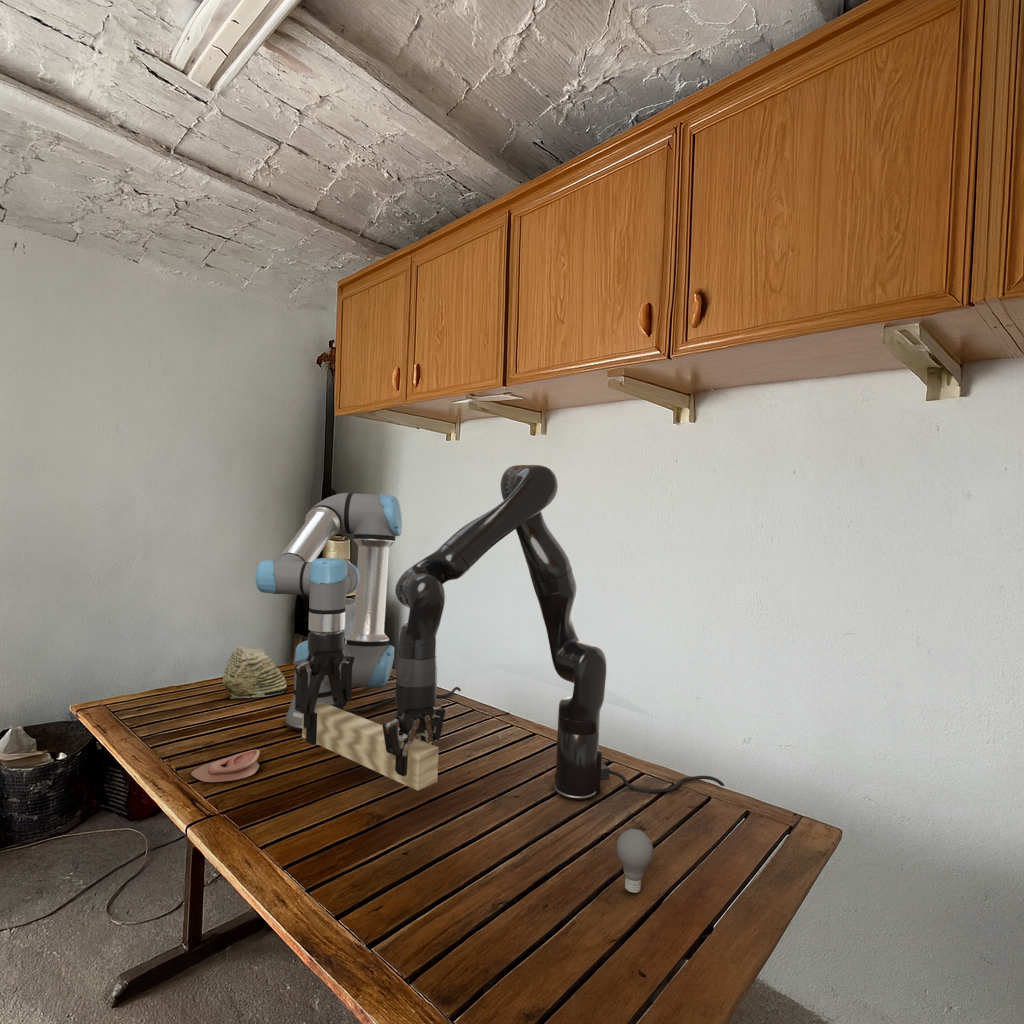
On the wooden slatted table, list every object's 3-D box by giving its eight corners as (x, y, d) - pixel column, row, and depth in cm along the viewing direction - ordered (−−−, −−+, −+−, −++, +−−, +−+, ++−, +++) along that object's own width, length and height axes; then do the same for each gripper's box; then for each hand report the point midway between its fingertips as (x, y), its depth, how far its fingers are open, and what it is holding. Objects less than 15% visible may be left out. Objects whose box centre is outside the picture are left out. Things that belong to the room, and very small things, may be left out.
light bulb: (610, 879, 108) (613, 822, 108) (644, 879, 109) (647, 822, 109) (619, 902, 102) (622, 840, 102) (655, 901, 103) (658, 840, 103)
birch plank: (301, 737, 136) (303, 707, 136) (321, 731, 140) (322, 702, 140) (417, 790, 114) (419, 755, 113) (437, 781, 118) (438, 747, 117)
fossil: (218, 695, 195) (220, 647, 195) (278, 685, 208) (279, 640, 207) (228, 703, 189) (230, 653, 188) (289, 692, 201) (290, 645, 201)
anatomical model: (182, 760, 139) (216, 741, 150) (181, 778, 139) (216, 758, 150) (236, 768, 136) (267, 748, 147) (235, 786, 136) (266, 765, 147)
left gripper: (350, 622, 144) (347, 724, 145) (278, 634, 130) (274, 746, 131) (371, 628, 140) (368, 732, 140) (298, 640, 126) (294, 756, 126)
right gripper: (430, 668, 126) (426, 753, 126) (372, 682, 114) (369, 775, 115) (457, 676, 121) (454, 764, 121) (400, 692, 110) (397, 789, 110)
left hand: (322, 739), depth 135 cm, fingers closed on birch plank, 5 cm apart
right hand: (413, 769), depth 118 cm, fingers closed on birch plank, 5 cm apart
